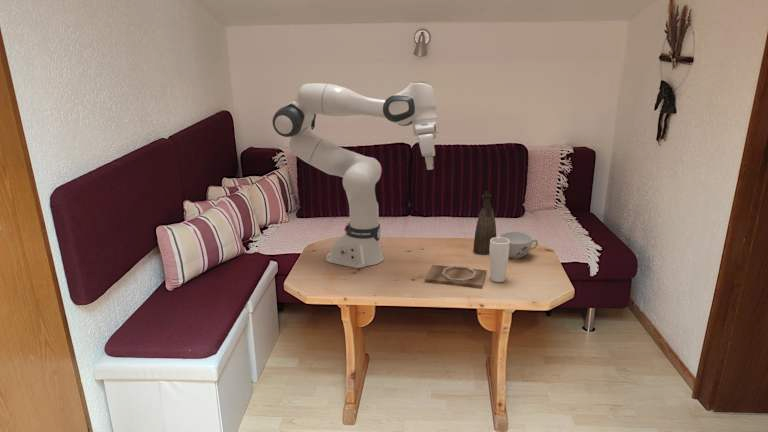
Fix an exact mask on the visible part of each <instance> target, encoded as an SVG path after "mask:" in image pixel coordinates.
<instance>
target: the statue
mask: <svg viewBox="0 0 768 432" xmlns="http://www.w3.org/2000/svg"><path fill="white" fill-rule="evenodd" d="M480 197H481V200H482V201H483V202H482V205H483V207H481V208H480V212H479V215H478V218H477V221H476V222H477V223H476V227H475V232H474V238H473V239H474V240H473V254H475V255H490V253H489V248H490V239H491V238H494V237H498V236H497V225H496V217H495V213H494V209H493V207H492V204H491V201H490V200H491V199H492V195H491V194H488V191H487V190H485V192H484V194H482V195H480Z"/></svg>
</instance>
